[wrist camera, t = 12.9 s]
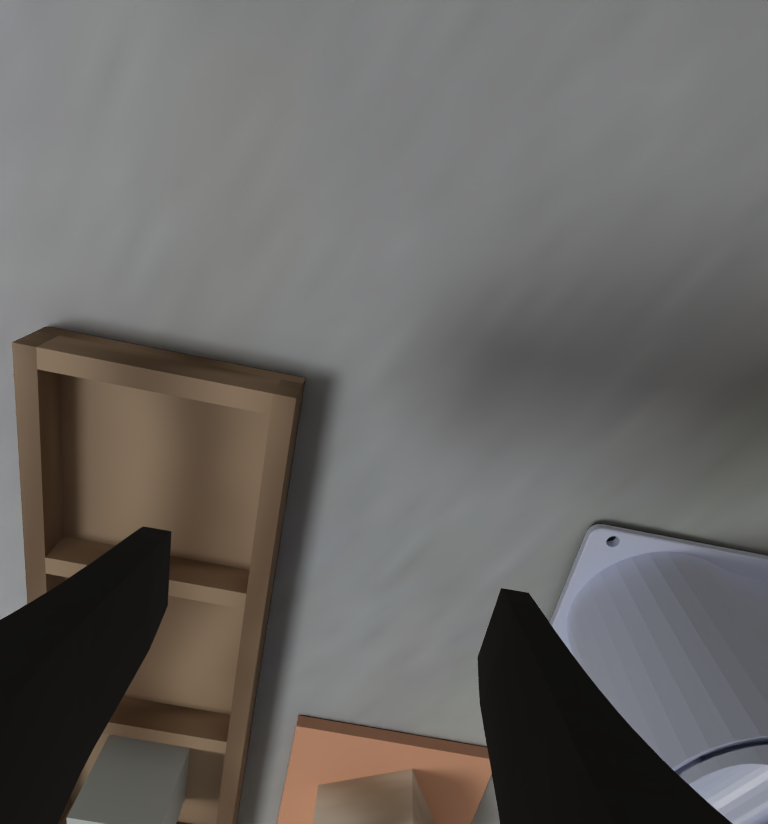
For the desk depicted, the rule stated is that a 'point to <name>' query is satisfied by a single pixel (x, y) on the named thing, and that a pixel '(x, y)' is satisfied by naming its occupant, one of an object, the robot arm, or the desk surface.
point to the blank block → (133, 784)
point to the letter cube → (373, 801)
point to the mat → (382, 767)
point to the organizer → (164, 525)
